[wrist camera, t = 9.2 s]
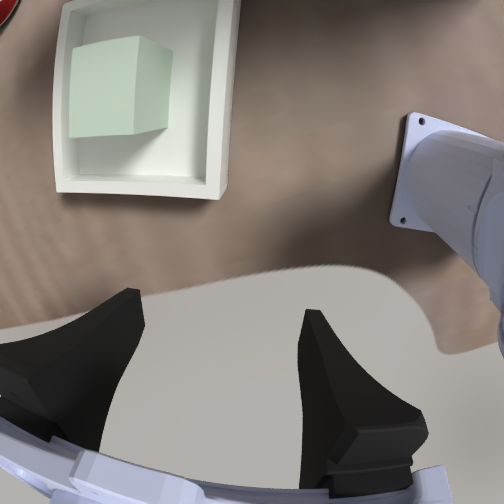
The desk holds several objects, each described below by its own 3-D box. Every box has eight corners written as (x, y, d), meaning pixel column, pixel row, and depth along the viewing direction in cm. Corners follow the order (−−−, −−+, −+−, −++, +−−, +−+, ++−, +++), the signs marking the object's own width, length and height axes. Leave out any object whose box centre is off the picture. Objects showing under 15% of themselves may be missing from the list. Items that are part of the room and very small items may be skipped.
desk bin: (242, -9, 14) (236, -27, 11) (227, 187, 20) (219, 199, 17) (86, 12, 14) (63, 4, 12) (79, 181, 20) (56, 192, 18)
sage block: (173, 51, 15) (139, 35, 11) (168, 127, 17) (133, 134, 13) (116, 57, 15) (73, 48, 11) (112, 128, 17) (68, 138, 13)
